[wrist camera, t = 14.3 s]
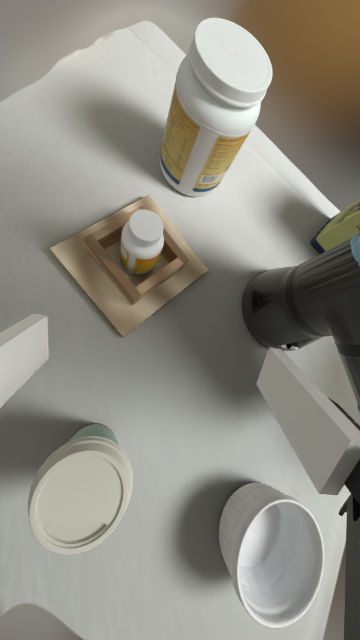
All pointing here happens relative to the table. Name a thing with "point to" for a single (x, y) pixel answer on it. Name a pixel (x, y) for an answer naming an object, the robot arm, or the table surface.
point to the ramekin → (271, 553)
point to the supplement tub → (213, 105)
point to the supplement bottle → (141, 242)
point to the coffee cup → (80, 492)
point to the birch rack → (114, 282)
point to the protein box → (338, 229)
